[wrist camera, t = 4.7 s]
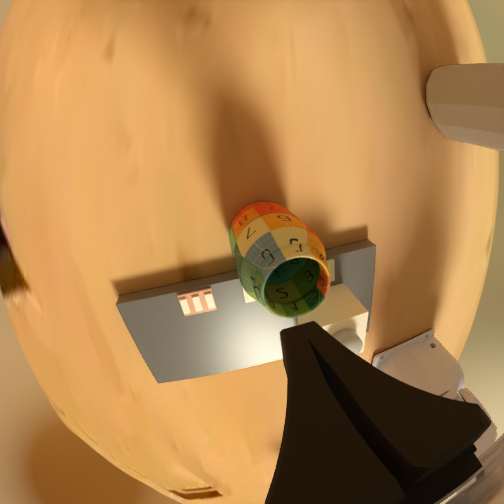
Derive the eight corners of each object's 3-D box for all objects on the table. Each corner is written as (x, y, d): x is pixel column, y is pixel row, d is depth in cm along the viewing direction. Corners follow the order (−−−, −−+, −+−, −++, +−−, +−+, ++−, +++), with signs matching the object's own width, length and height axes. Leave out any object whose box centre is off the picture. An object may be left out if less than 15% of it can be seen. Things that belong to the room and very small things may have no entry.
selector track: (367, 239, 21) (378, 247, 20) (362, 323, 25) (369, 333, 24) (119, 295, 19) (114, 307, 18) (158, 373, 23) (157, 386, 22)
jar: (241, 186, 18) (272, 224, 11) (302, 209, 19) (361, 257, 12) (216, 248, 19) (229, 319, 12) (275, 266, 21) (315, 336, 14)
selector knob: (343, 282, 21) (375, 320, 16) (341, 321, 23) (369, 360, 18) (295, 295, 20) (320, 339, 16) (298, 334, 22) (319, 378, 18)
